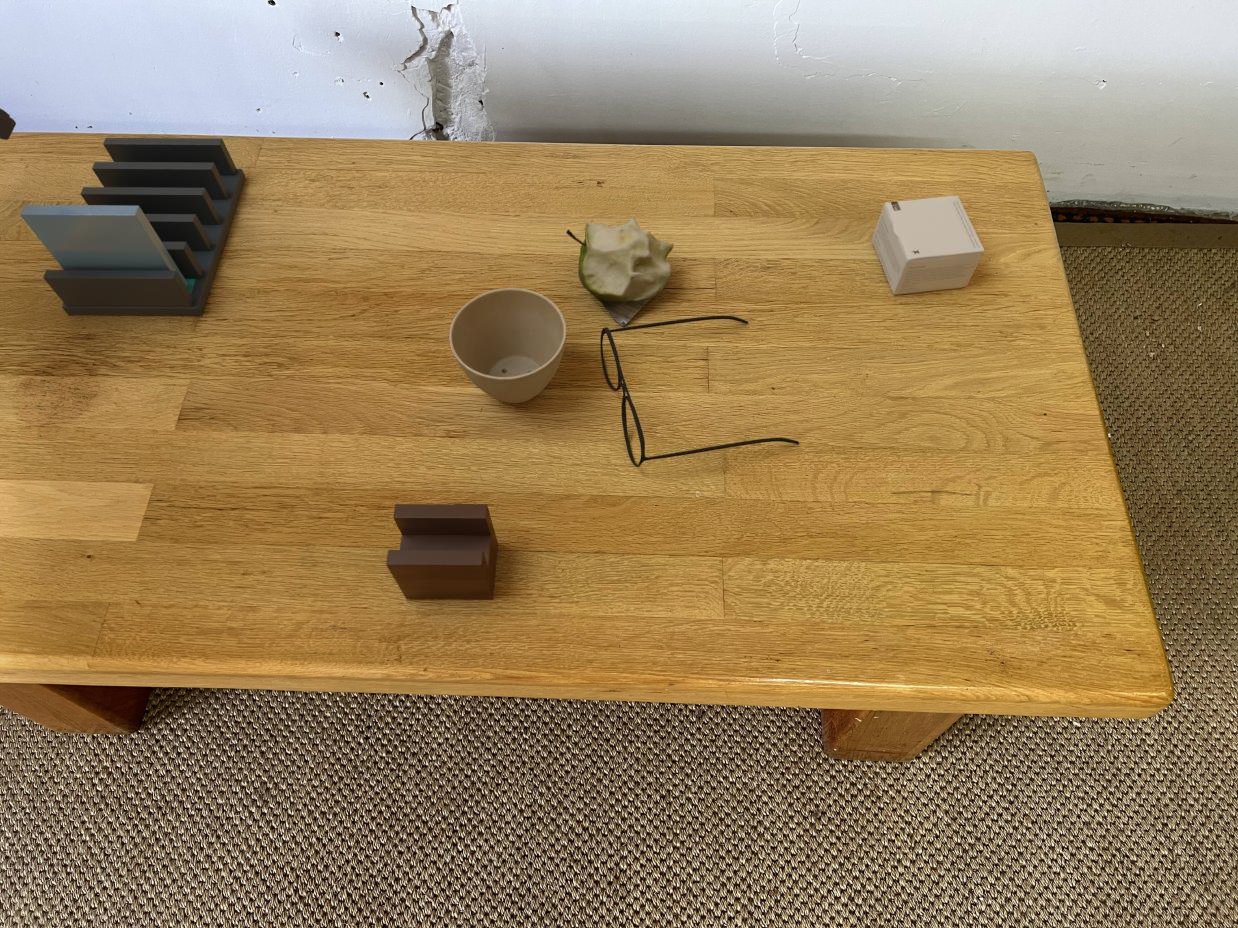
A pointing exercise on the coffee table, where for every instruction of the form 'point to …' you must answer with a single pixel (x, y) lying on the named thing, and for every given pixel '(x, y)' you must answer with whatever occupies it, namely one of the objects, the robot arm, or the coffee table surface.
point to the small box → (926, 244)
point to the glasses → (623, 410)
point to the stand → (444, 552)
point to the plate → (99, 237)
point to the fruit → (622, 267)
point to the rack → (160, 225)
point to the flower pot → (509, 342)
